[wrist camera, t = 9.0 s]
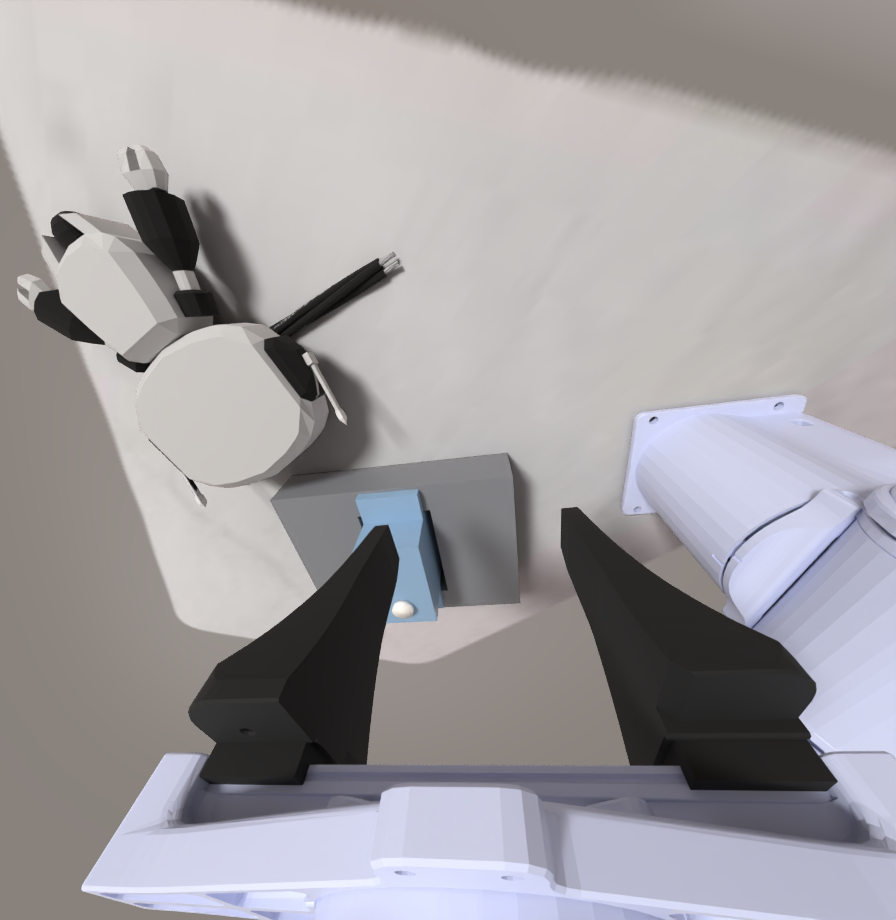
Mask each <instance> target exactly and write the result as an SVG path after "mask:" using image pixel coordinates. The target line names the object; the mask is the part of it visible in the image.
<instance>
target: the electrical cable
mask: <svg viewBox="0 0 896 920" xmlns="http://www.w3.org/2000/svg"><path fill="white" fill-rule="evenodd" d="M394 256H395V255H394V252H392V253H390V254H389V255H387V256H385V257H383V258H381V259H380V260H379V259H376V260H374V261H372V262H370V263H369V264H367V265H365V266H363V267H362V268H360V269H359V270H357V271H355V272H354V273H352V274H351V275H349V276H347V277H346V278H344V279H342V280H341V281H339V282H338V283H336V284H334V285H333V286H331V287H330V288H328V289H327V290H325V291H324V292H323V293H321V294H319V295H318V296H317V297H315V298H314V299H312V300H310V301H309V302H308V303H306V304H305V305H303V306H302V307H301V308H299V309H298V310H296V311H295V312H294V313H292V314H291V315H290V316H288V317H286V318H285V319H283V320H281V321H279V322H278V323H276V324H274V325H273V326H271V327H269V328H270V329H271V330H273V331H274V332H275V333H277V334H278V335H280V336H283V335H288V336H289V337H290V336H291V335H292V334H294V333H295V332H297V331H298V330H300V329H301V328H302V327H304V326H305V325H307V324H309V323H311V322H313V321H315V320H317V319H319V318H321V317H322V316H324V315H326V314H327V313H329V312H331V311H333V310H334V309H336V308H338V307H339V306H341V305H343V304H344V303H346V302H348V301H349V300H351V299H353V298H354V297H356V296H358V295H359V294H361V293H362V292H364V291H365V290H367V289H368V288H370V287H371V286H373V285H374V284H376V283H377V282H379V281H380V280H382V279H383V278H385V277H386V273H388V272H389V271H391V270H392V269H394V268H395V267H396V266H398V265H399V263H398V261H396V262H394V263H393V264H391V265H390V266H388V267H387V268H385V269H383V267H382V265H384V264H385V263H386V262H387V261H389V260H390V259H391V258H392V257H394Z"/></svg>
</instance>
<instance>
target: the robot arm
mask: <svg viewBox="0 0 896 920" xmlns="http://www.w3.org/2000/svg"><path fill="white" fill-rule="evenodd" d="M806 402H807V399H806V397H804V396H802V395H799V394H793V395H784V396H776V397H767V398H759V399H750V400H742V401H733V402H725V403H716V404H707V405H699V406H690V407H682V408H673V409H665V410H656V411H647V412H642V413H639V414H638V415H637V416H636V417H635V419H634V424H633V431H632V437H631V444H630V451H629V457H628V464H627V471H626V477H625V484H624V491H623V498H622V504H621V510H622V512H623V513H624V514H626V515H635V514H647V513H658V514H659V515H660V517H661V518H662V519H663V520H664V521H665V523H666V524H667V525H668V526H669V528H670V529H671V530H672V531H673V532H674V534H675V535H676V536H677V537H678V538H679V540H680V541H681V542H682V543H683V544H684V546H685V547H686V548H687V549H688V550H689V552H690V553H691V554H692V555H693V557H694V558H695V559H696V560H697V561H698V563H699V564H700V565H701V566H702V567H703V569H704V570H705V571H706V572H707V573H708V575H709V576H710V577H711V578H712V579H713V581H714V582H715V583H716V584H717V586H718V587H719V588H720V589H721V590H722V592H723V593H724V594H725V595H726V598H727V602H726V605H725V606H724V608H723V610H722V612H723V613H724V614H725V615H723V614H721V613H719V612H717V611H715V610H713V609H711V608H710V607H708V606H706V605H704V604H702V603H701V602H699V601H697V600H695V599H693V598H692V597H690V596H689V595H687V594H685V593H683V592H682V591H680V590H679V589H677V588H675V587H674V586H672V585H670V584H669V583H667V582H666V581H664V580H663V579H661V578H660V577H658V576H657V575H656V574H654V573H653V572H651V571H650V570H648V569H647V568H646V567H644V566H643V565H642V564H640V563H639V562H638V561H636V560H635V559H634V558H633V557H631V556H630V555H629V554H628V553H626V552H625V551H624V550H623V549H622V548H620V547H619V546H618V545H617V544H616V543H615V542H614V541H612V540H611V539H610V538H609V537H608V536H607V535H606V534H605V533H604V532H603V531H601V530H600V529H599V528H598V527H597V526H596V525H595V524H594V523H593V522H592V521H591V520H590V519H589V518H588V517H587V516H586V515H585V514H584V513H583V512H582V511H581V510H580V509H579V508H578V507H573V508H562V509H561V549H562V553H563V556H564V560H565V563H566V567H567V570H568V573H569V575H570V578H571V580H572V583H573V585H574V588H575V590H576V592H577V595H578V597H579V599H580V602H581V604H582V606H583V609H584V612H585V614H586V617H587V619H588V621H589V624H590V627H591V630H592V632H593V635H594V638H595V642H596V645H597V648H598V651H599V655H600V658H601V661H602V665H603V668H604V671H605V675H606V678H607V682H608V685H609V689H610V692H611V696H612V699H613V703H614V707H615V710H616V714H617V717H618V721H619V725H620V728H621V732H622V736H623V740H624V744H625V748H626V752H627V755H628V759H629V763H630V766H587V765H585V766H583V765H582V766H580V765H578V766H577V765H561V766H560V765H558V766H557V765H552V766H551V765H367V754H368V742H369V733H370V723H371V714H372V706H373V697H374V690H375V682H376V675H377V668H378V662H379V655H380V649H381V643H382V638H383V634H384V630H385V626H386V622H387V618H388V614H389V610H390V607H391V603H392V599H393V595H394V591H395V587H396V583H397V577H398V569H399V560H400V558H399V555H398V552H397V549H396V546H395V543H394V540H393V537H392V534H391V531H390V528H389V525H379V526H374V528H373V529H372V530H371V531H370V532H369V533H368V535H367V536H366V537H365V538H364V540H363V541H362V542H361V543H360V544H359V546H358V547H357V548H356V549H355V551H354V552H353V553H352V554H351V555H350V556H349V558H348V559H347V560H346V561H345V562H344V563H343V564H342V566H341V567H340V568H339V569H338V570H337V571H336V572H335V573H334V574H333V575H332V576H331V577H330V578H329V580H328V581H327V582H326V583H325V584H324V585H323V586H322V587H321V588H319V589H318V590H317V591H316V592H315V593H314V594H313V595H312V596H311V597H310V598H309V599H308V600H306V601H305V602H304V603H303V604H302V605H301V606H299V607H298V608H297V609H296V610H294V611H293V612H292V613H291V614H290V615H288V616H287V617H286V618H285V619H283V620H282V621H281V622H280V623H278V624H277V625H276V626H274V627H273V628H272V629H270V630H269V631H267V632H266V633H265V634H263V635H262V636H260V637H259V638H257V639H256V640H255V641H253V642H252V643H250V644H249V645H247V646H245V647H244V648H243V649H241V650H239V651H238V652H236V653H234V654H233V655H231V656H230V657H228V658H227V659H225V660H223V661H222V662H220V663H218V664H217V666H216V667H215V669H214V670H213V672H212V673H211V675H210V676H209V678H208V680H207V681H206V682H205V684H204V686H203V687H202V689H201V690H200V692H199V693H198V695H197V696H196V698H195V699H194V701H193V702H192V704H191V706H190V708H189V711H188V713H189V717H190V719H191V721H192V722H193V723H194V724H195V725H196V726H197V727H198V728H199V729H200V730H202V731H203V732H204V733H205V734H207V735H208V736H209V737H210V738H211V739H213V740H214V741H215V742H216V745H215V747H214V749H213V751H212V753H211V755H208V754H204V753H197V752H194V753H193V752H173V753H172V752H169V753H167V754H165V755H164V757H163V759H162V760H161V762H160V763H159V765H158V766H157V768H156V770H155V771H154V773H153V774H152V776H151V778H150V779H149V781H148V782H147V784H146V786H145V787H144V789H143V790H142V792H141V793H140V795H139V796H138V798H137V800H136V801H135V803H134V804H133V806H132V808H131V809H130V811H129V812H128V814H127V816H126V817H125V818H124V820H123V822H122V823H121V825H120V826H119V828H118V830H117V831H116V833H115V834H114V836H113V837H112V839H111V841H110V842H109V844H108V845H107V847H106V849H105V850H104V852H103V853H102V855H101V856H100V858H99V860H98V861H97V863H96V864H95V866H94V867H93V869H92V871H91V872H90V874H89V875H88V877H87V878H86V880H85V882H84V883H83V885H82V891H84V892H87V893H91V894H95V895H98V896H102V897H106V898H109V899H113V900H116V901H120V902H124V903H127V904H131V905H134V906H138V907H141V908H145V909H154V910H167V911H168V910H169V911H181V912H192V913H202V914H213V915H223V916H232V917H241V918H250V919H259V920H896V449H894V448H891V447H889V446H886V445H884V444H881V443H879V442H876V441H874V440H871V439H869V438H866V437H863V436H861V435H858V434H856V433H853V432H851V431H848V430H846V429H843V428H840V427H838V426H835V425H833V424H830V423H828V422H825V421H823V420H820V419H818V418H815V417H812V416H810V415H807V414H805V413H802V412H803V410H804V407H805V405H806ZM777 403H778V404H777ZM776 404H777V406H776V407H774V406H775V405H776ZM652 417H655V419H654V420H653V421H651V422H649V420H650V419H651V418H652ZM635 507H638V508H636V509H634V508H635Z"/></svg>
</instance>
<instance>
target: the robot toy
mask: <svg viewBox="0 0 896 920" xmlns="http://www.w3.org/2000/svg"><path fill="white" fill-rule="evenodd" d="M134 149H135V150H133V149H131V148H129V147H124V148H121V150H120V151H119V153H118V154H117V156H118V160H119V165H120V169H121V174H122V175H123V176H124V177H125V179H126V180H127V181H128V182H129V183H130V185H131V186H132V187H133V188H134V189H135V191H131V192H127V193H125V194H123V198H124V200H125V202H126V205H127V207H128V209H129V212H130V214H131V216H132V219H133V221H134V223H135V226H136V228H137V230H138V232H137V231H135V230H134V229H133V228H131V227H130V226H129V225H127V224H122V223H118V222H114V221H109V220H105V219H101V218H96V217H92V216H88V215H83V214H80V213H77V212H73V211H63V212H60V213H58V214H57V215H56V216H55V217H53V218H52V220H51V229H52V234H53V235H54V237H49V236H43V235H42V256H43V257H44V259H45V260H46V262H47V264H48V265H49V267H50V269H51V270H52V272H53V274H54V275H55V277H56V278H57V283H58V289H59V290H58V289H57V290H55V289H54V288H53V286H52V285H51V284H50V283H49V282H46V281H44V280H42V279H39V278H37V277H34V276H32V275H29V274H25V275H22V276H19V277H18V284H20V285H21V286H23V287H24V288H25V289H20V288H17V294H18V298H19V300H20V301H21V302H22V303H23V304H25V305H26V306H27V307H28V308H29V309H30V310H33V311H34V312H35V314H36V317H37V319H38V320H39V321H41V322H42V323H44V324H46V325H48V326H49V327H51V328H53V329H54V330H56V331H58V332H59V333H61V334H63V335H64V336H66V337H68V338H70V339H71V340H75V341H81V342H87V343H93V344H101V345H106V346H108V347H110V348H111V349H113V350H115V351H116V352H117V355H116V356H117V360H118V362H120V363H122V364H123V365H125V366H127V367H128V368H130V369H132V370H133V371H135V372H145V373H144V375H143V377H142V379H141V381H140V384H139V386H138V389H137V393H136V411H137V416H138V421H139V426H140V431H141V432H142V433H144V434H145V435H146V436H147V437H148V440H149V441H150V442H151V443H152V444H153V445H154V446H155V447H156V448H157V449H158V450H160V451H161V452H162V453H163V454H164V455H165V456H166V457H167V458H168V459H169V461H171V462H172V463H173V464H174V465H175V466H176V467H177V468H178V470H179V471H180V473H181V475H182V476H183V478H184V479H185V481H186V483H187V484H188V486H189V487H190V489H191V491H192V492H193V494H194V495H195V500H196V501H197V503H198V504H199V505H201V506H203V507H206V504H207V500H206V498H205V497H204V495H203V494H201V493H200V491H199V489H198V488H197V486H196V485H195V483H194V481H197V482H201V483H204V484H207V485H210V486H216V487H224V488H232V487H239V486H244V485H249V484H252V483H255V482H257V481H260V480H263V479H266V478H269V477H272V476H275V475H277V474H278V473H279V472H280V471H281V470H282V469H284V468H285V467H286V466H287V465H288V464H290V463H291V462H292V461H293V460H294V459H295V458H297V457H298V456H299V455H300V454H301V453H302V452H303V451H304V450H306V449H307V448H308V447H309V446H310V445H311V444H312V443H313V442H314V441H315V440H316V438H317V437H318V436H319V435H320V434H321V432H322V430H323V429H324V427H325V424H326V420H327V417H328V413H329V410H328V406H327V402H326V398H325V394H324V393H326V394H327V396H328V398H329V400H330V402H331V403H332V405H333V407H334V409H335V411H336V412H335V413H336V415H337V417H338V419H339V420H340V421H341V422H343V423H344V424H346V425H347V416H346V414H345V413H344V411H343V409H341V408H340V406H339V404H338V402H337V400H336V399H335V397H334V395H333V393H332V391H331V390H330V388H329V386H328V384H327V382H326V381H325V379H324V377H323V375H322V373H321V371H320V370H319V368H318V366H317V364H319V362H318V361H317V359H316V357H315V355H314V353H312V352H306V351H305V349H304V348H303V347H302V346H300V345H299V344H298V343H296V342H295V341H294V340H293V339H292V338H290V337H289V336H288V335H283V336H280V335H278V334H277V333H275V332H274V331H273V330H271V329H270V328H268V327H267V326H265V325H262V324H253V323H234V324H221V325H214V326H213V316H215V315H219V312H218V309H217V307H216V304H215V301H214V299H213V296H212V294H211V293H210V292H208V291H206V290H201V289H200V286H199V284H198V281H197V278H196V276H195V273H194V269H195V266H196V262H197V257H198V251H199V245H200V243H199V240H198V238H197V235H196V232H195V229H194V226H193V224H192V221H191V218H190V215H189V213H188V210H187V207H186V204H185V201H184V200H182V199H180V198H178V197H177V196H175V195H172V194H168V176H169V175H168V173H167V171H166V170H165V168H164V166H163V164H162V162H161V161H160V159H159V157H158V156H157V155H156V154H155V153H154V152H153V151H152V150H150V149H149V148H147V147H145V146H142V145H135V146H134ZM193 480H194V481H193Z"/></svg>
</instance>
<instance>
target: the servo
mask: <svg viewBox="0 0 896 920" xmlns="http://www.w3.org/2000/svg"><path fill="white" fill-rule="evenodd" d="M355 501H356V504H357V507H358V510H359V512H360V515H361V518H362V521H363V524H364V525H363V527H362V530H361V532H360V535H359V537H358V539H357V542H356V544H355V547H354V549H353V551H352V552H354V551H355V549H356V548H357V547H358V546H359V544H360V543H361V542H362V541H363V540H364V538H365V537H366V536H367V535H368V533H369V532H370V531H371V530H372V529H373V528H374V526H379V525H389V528H390V531H391V534H392V537H393V540H394V543H395V546H396V549H397V552H398V555H399V558H400V560H399V569H398V577H397V583H396V587H395V591H394V595H393V599H392V603H391V607H390V610H389V614H388V618H387V622H386V623H400V622H422V621H437V616H438V608H443V607H444V599H443V595H442V591H441V586H440V579H441V567H442V561H441V557H440V552H439V548H438V543H437V539H436V535H435V530H434V526H433V521H432V517H431V512H430V510H426V511H423V507H422V503H421V498H420V494H419V490H418V489H413V490H403V491H392V492H381V493H370V494H359V495H357V497H356V499H355Z"/></svg>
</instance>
